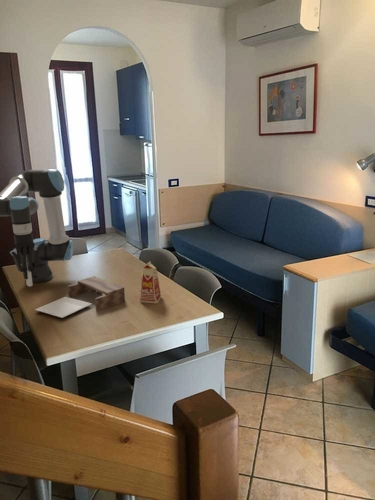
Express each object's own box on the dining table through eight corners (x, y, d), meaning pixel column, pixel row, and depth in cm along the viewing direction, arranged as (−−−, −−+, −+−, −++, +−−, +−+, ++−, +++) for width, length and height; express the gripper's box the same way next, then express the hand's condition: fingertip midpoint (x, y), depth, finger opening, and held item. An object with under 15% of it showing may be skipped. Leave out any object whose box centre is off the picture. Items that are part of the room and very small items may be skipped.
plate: (62, 321, 183) (62, 317, 182) (35, 313, 193) (34, 309, 192) (92, 307, 198) (92, 303, 198) (65, 300, 208) (65, 296, 207)
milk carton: (156, 303, 201) (155, 264, 195) (138, 302, 203) (136, 263, 197) (161, 296, 209) (160, 258, 204) (144, 295, 211) (142, 258, 206)
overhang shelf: (97, 310, 193) (96, 296, 191) (68, 296, 211) (67, 283, 209) (125, 301, 204) (124, 287, 202) (95, 288, 222) (94, 276, 220)
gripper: (11, 236, 168) (18, 291, 173) (41, 231, 177) (47, 283, 182) (4, 234, 173) (11, 287, 179) (33, 229, 182) (39, 279, 188)
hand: (29, 285), depth 181 cm, fingers closed
